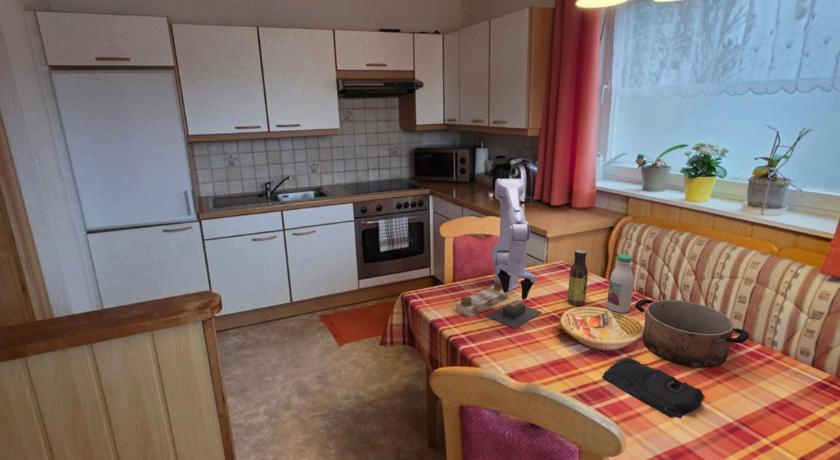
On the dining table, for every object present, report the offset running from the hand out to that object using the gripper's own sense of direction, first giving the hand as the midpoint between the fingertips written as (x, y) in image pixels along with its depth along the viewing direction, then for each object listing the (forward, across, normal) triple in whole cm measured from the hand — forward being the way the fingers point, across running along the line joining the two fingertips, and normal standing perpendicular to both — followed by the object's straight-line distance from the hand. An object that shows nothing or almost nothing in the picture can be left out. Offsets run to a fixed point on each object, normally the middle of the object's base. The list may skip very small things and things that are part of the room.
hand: (515, 295), depth 156 cm
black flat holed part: (+8, +49, -8) cm, 51 cm away
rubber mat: (+8, 0, 0) cm, 8 cm away
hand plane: (+8, -13, -1) cm, 15 cm away
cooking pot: (+8, +48, +19) cm, 52 cm away
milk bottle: (+8, +23, +31) cm, 39 cm away
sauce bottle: (+8, +10, +25) cm, 28 cm away
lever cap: (+7, 0, 0) cm, 7 cm away
